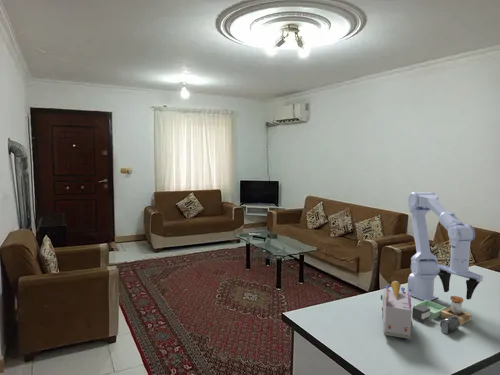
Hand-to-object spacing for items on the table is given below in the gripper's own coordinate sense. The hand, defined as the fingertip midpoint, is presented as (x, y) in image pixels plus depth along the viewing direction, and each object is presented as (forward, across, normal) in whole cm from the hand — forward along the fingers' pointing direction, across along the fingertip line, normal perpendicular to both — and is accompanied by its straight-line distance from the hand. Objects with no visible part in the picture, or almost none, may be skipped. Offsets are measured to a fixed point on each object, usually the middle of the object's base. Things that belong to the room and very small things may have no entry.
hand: (457, 295), depth 122 cm
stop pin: (+9, 0, 0) cm, 9 cm away
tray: (+9, -8, -2) cm, 12 cm away
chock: (+9, -7, -10) cm, 16 cm away
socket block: (+9, 0, 0) cm, 9 cm away
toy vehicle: (+9, -8, -25) cm, 28 cm away
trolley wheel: (+9, +3, -10) cm, 14 cm away
